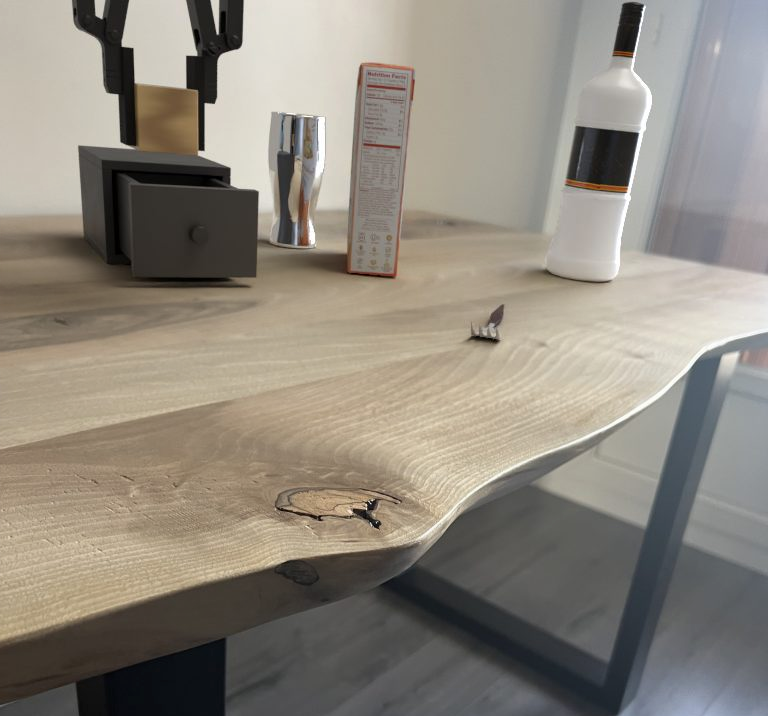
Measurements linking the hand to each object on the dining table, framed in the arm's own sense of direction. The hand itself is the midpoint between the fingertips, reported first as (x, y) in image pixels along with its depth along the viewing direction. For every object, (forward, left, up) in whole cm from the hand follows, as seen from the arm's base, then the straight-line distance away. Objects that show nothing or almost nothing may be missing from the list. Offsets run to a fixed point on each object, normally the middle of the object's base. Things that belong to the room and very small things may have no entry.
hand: (162, 146), depth 64 cm
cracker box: (+17, +30, -13) cm, 36 cm away
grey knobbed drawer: (-2, +14, -12) cm, 18 cm away
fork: (+29, +5, -13) cm, 32 cm away
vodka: (+44, +38, -13) cm, 59 cm away
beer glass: (+7, +39, -13) cm, 41 cm away
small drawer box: (-7, +25, -13) cm, 29 cm away
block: (0, 0, 0) cm, 0 cm away
